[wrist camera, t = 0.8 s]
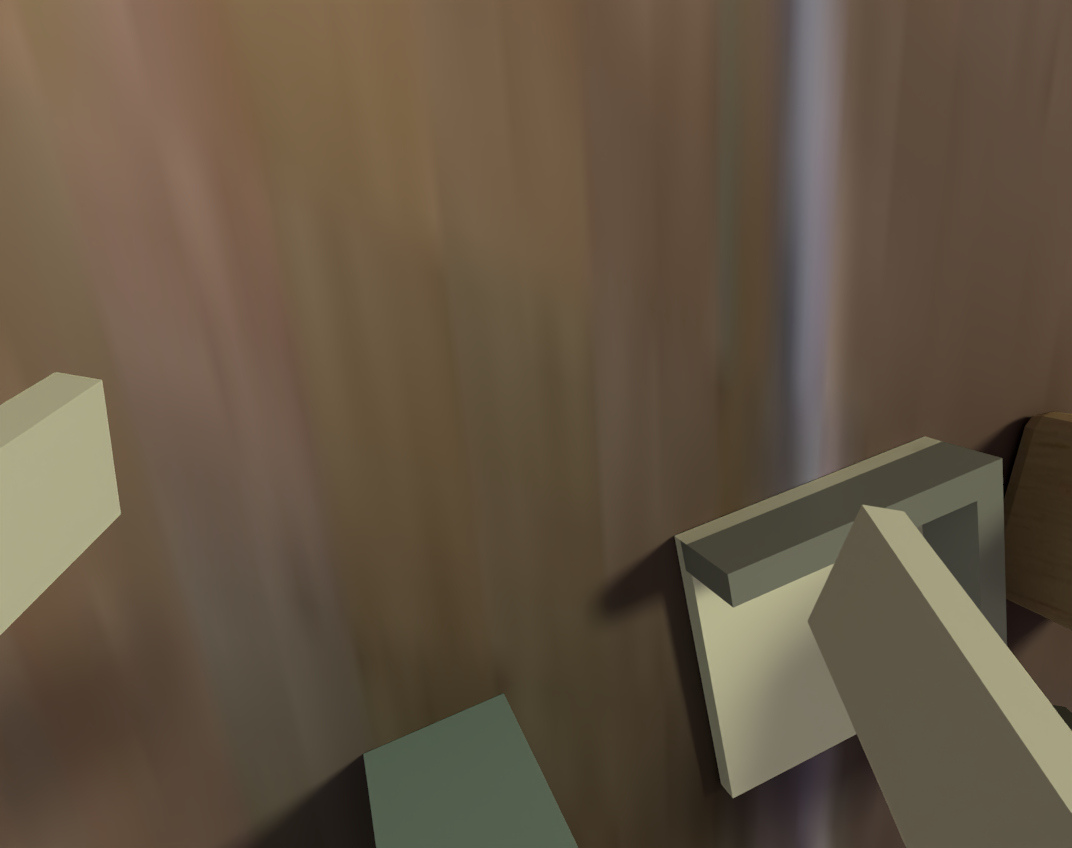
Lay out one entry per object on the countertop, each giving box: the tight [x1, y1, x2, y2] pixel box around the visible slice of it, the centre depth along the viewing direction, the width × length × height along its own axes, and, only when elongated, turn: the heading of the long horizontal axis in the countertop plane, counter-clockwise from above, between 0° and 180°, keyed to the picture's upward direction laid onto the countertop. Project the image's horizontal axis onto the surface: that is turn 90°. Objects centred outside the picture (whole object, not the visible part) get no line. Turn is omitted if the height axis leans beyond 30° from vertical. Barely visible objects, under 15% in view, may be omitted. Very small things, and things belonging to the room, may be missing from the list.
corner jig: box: [674, 437, 1007, 798], centre depth 32 cm, size 14×14×4 cm
